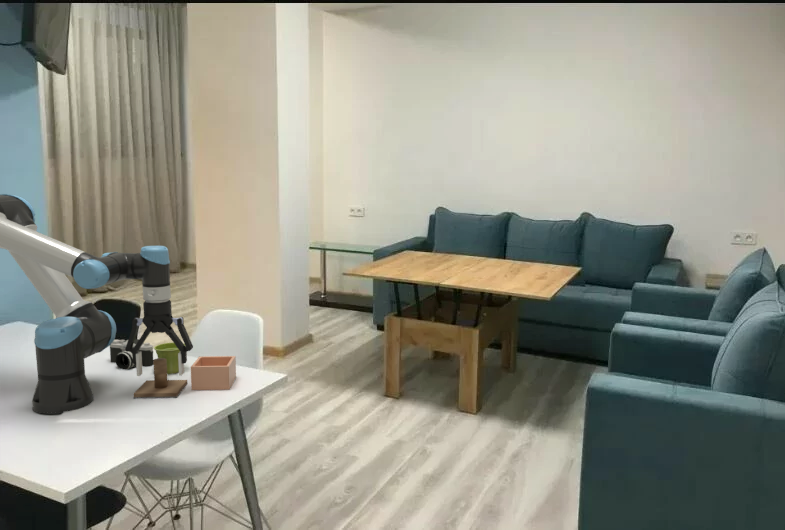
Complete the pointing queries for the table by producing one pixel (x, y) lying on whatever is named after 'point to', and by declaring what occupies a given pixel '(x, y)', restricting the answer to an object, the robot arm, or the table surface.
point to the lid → (160, 383)
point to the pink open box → (213, 373)
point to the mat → (163, 397)
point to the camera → (130, 354)
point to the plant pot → (169, 356)
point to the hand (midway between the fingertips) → (160, 374)
